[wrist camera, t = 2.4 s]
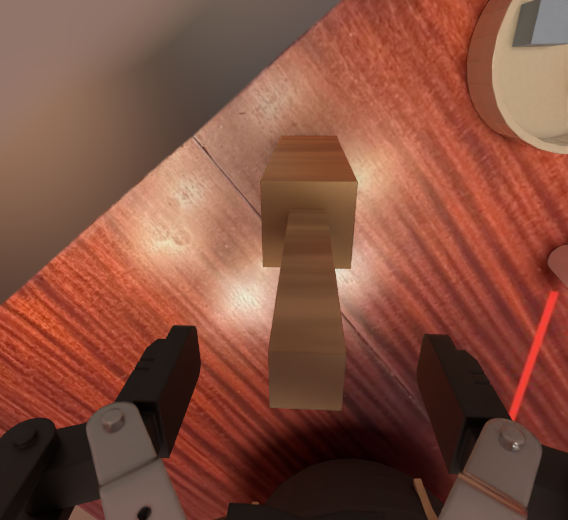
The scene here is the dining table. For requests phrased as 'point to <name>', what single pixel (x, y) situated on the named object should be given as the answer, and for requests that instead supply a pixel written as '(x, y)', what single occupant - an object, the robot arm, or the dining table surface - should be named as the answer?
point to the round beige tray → (518, 81)
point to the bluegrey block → (542, 24)
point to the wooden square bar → (307, 320)
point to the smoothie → (560, 263)
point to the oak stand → (308, 194)
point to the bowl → (355, 491)
